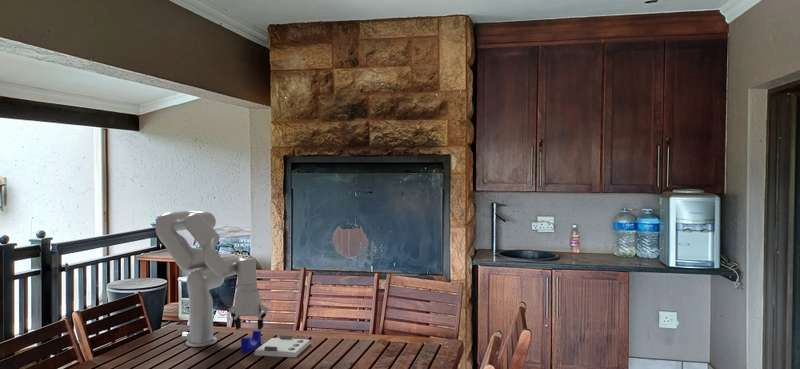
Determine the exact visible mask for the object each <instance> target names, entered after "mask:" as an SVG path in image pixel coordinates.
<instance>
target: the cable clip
mask: <svg viewBox="0 0 800 369" xmlns="http://www.w3.org/2000/svg"><path fill="white" fill-rule="evenodd" d="M260 346H262V330H253V331H252V336H251V337H241V339H240V348H241V350H240V353H241V354H250V353H251V352H252V351H254V350H256V349H257V348H259V347H260ZM253 349H254V350H253Z"/></svg>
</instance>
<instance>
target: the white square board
mask: <svg viewBox="0 0 800 369" xmlns="http://www.w3.org/2000/svg"><path fill="white" fill-rule="evenodd" d="M310 340H311V339H309V338H308V339H305V338H304V339H303V338H293V336H292V334H280V335H279V337H271V338H270V339H269V340H267V341H266V342H264V343H263V344H261V345H259V346H258V347H257V348H255V349H254V356H259V357H260V356H262V357H263V356H264V357H280V358H281V357H282V358H283V357H284V358H297V357H298V355H300V354H301V353H302V352H304V350H305V349H306V348H308V347H309V346H310V344H311V341H310Z"/></svg>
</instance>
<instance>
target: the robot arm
mask: <svg viewBox="0 0 800 369" xmlns="http://www.w3.org/2000/svg"><path fill="white" fill-rule="evenodd" d="M216 224H217V219H216V218H215V216H214V214H213V213H211V212H210V211H199V210H198V211H197V210H195V211H194V210H179V211H170V212H164V213H162V214H161V215H159V216H158V217H157V219H156V222H155V234H156V236H157V238H158V240H159V242H161V243H162V245H163V246H164V247H165V248H166V249H167V251H168V253H169V254H170V256H171V258H172V259H173V260H174V262H175V264H176V265H177V266H178V268H179V269H180V270H181V271H182V272H185V273H187V272H191V273H190V274H188V276H187V278H186V288H187V294H188V306H189V307H188V308H189V310H188V312H189V314H188V316H189V318H188V319H189V332H187V331H186V332H185V331H183V332H182V333H181V338H182V339H186V341H185V345H186V346H188V347H192V348H201V347H208V346H210V345H213V344H214V345H215V344H216V343H217V341H218V338H217V336H214V306H213V305H214V303H213V302H214V301H213V297H212V294H211V292H210V290H212V289H216V288H219V287H221V285H222V284H224V281H225V278H227V277H231V276H235V275H237V284H236V285H235V286H234V287H235V289H237V291H236V293H235V300H234V305H233V306H232V307H230V308H228V312H229V314H230V317H232V318H233V320H234V325H235V326H234V327H235V330H237V331H239V329H241V328H242V321H241V320H242V319H241V318H240V317H255V316H256V318H257V319H258V320H257V329H258V330H259V331H261V330H262V329H263V328H264V318H265V317H266V316H267V314H268V312H269V307H267V306H266V305H263V304H262V299H261V294H260V292H259V289H258V286H257V285H258V284H257V282H258V281H257V261H256V258H255V257H241V256H231V257H227V258H223V257H222V256H220V253H219V252H218V251H217V249H216V245H217V244H218V243H219V241H220V234H218V232H217V231H216V230H215V229H214V228H215V227H216ZM184 230H185V231H186V230H187V232H189V233H190V234H189V235H191V236H192V237H193V239H194V240H195V241H196V243H198V245H199V246H200V247H192V246H191V245H190V244H189V243H188V241H187V239H186V238H185V237H184V236H183V235H181V234H180V233H178V231H179V232H180V231H184ZM262 311H263V313H262Z"/></svg>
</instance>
